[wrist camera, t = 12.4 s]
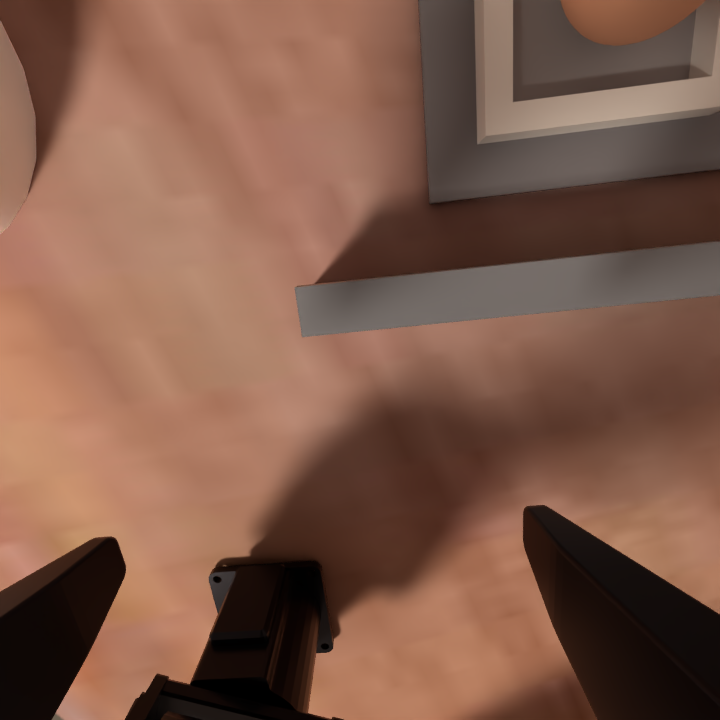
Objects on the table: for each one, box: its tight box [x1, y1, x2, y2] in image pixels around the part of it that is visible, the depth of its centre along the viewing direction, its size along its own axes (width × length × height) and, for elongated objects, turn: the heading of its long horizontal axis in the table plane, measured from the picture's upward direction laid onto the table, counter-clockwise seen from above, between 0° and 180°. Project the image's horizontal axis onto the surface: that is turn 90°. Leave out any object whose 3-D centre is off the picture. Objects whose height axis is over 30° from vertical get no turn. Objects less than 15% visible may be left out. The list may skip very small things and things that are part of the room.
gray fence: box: [295, 240, 720, 337], centre depth 15 cm, size 2×24×4 cm, turn 96°
